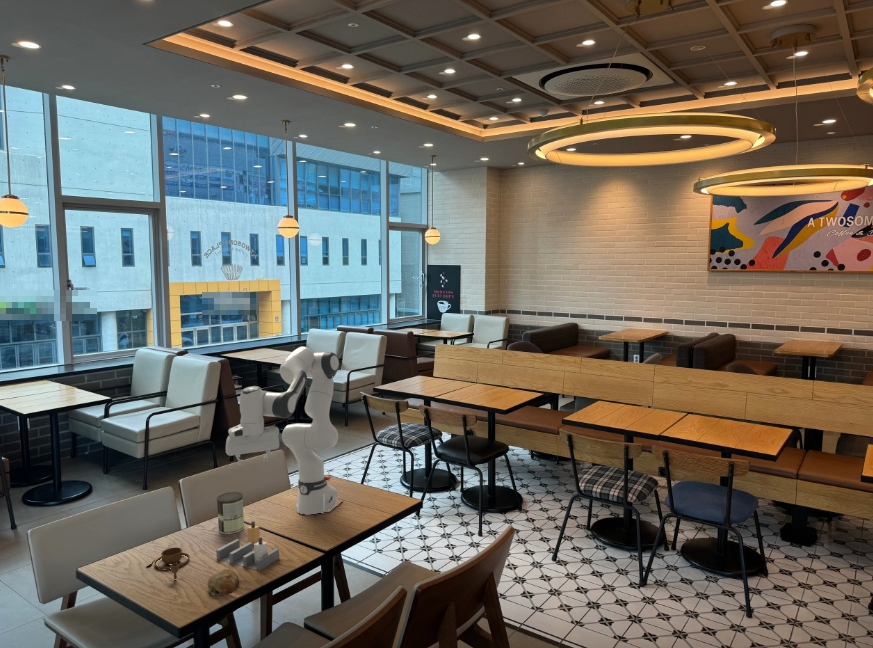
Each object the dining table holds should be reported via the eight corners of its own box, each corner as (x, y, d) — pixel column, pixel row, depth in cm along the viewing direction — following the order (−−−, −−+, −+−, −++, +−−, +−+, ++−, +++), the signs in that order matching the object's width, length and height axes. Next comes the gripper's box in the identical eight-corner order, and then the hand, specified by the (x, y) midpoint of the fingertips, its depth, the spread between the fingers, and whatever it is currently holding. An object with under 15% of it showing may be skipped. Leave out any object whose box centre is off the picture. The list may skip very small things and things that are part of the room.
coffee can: (213, 533, 250) (211, 499, 249) (228, 523, 260) (226, 491, 259) (234, 535, 248) (233, 501, 246) (249, 525, 258) (247, 492, 256)
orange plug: (253, 541, 241) (252, 519, 241) (260, 543, 240) (259, 521, 239) (247, 544, 239) (246, 522, 238) (254, 546, 237) (253, 524, 236)
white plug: (260, 559, 224) (259, 535, 223) (267, 561, 222) (266, 537, 222) (254, 562, 221) (253, 538, 220) (262, 564, 220) (261, 540, 219)
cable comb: (237, 550, 234) (236, 539, 234) (279, 561, 224) (278, 549, 224) (216, 561, 225) (216, 549, 225) (260, 573, 216) (259, 560, 215)
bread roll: (205, 602, 204) (199, 587, 200) (218, 576, 212) (212, 561, 208) (233, 604, 202) (227, 588, 198) (245, 577, 211) (240, 562, 207)
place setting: (203, 556, 231) (202, 541, 230) (179, 583, 211) (178, 566, 210) (157, 556, 231) (156, 541, 231) (129, 583, 211) (128, 567, 211)
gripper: (276, 423, 247) (277, 457, 247) (224, 430, 237) (225, 465, 237) (280, 426, 241) (281, 461, 242) (227, 433, 231) (228, 469, 232)
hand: (253, 463), depth 240 cm, fingers open, 8 cm apart
